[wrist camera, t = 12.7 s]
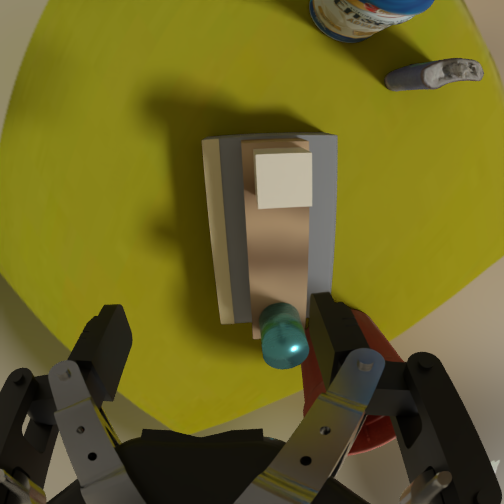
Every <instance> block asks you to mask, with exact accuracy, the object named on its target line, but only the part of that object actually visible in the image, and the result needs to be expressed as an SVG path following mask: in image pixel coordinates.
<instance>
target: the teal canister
mask: <svg viewBox="0 0 504 504" xmlns="http://www.w3.org/2000/svg"><path fill="white" fill-rule="evenodd" d="M259 326H260V335H261V343H262V351H263V358H264V360H265V362H266V363H267V364H268V365H269V366H271V367H273V368H277V369H289V368H293V367H295V366H297V365H299V364H301V363H302V362H303V361H304V360H305V359H306V358H307V356H308V354H309V346H308V342H307V339H306V336H305V332H304V329H303V326H302V322H301V319H300V316H299V313H298V311H297V309H296V308H295V307H294V306H292V305H291V304H288V303H274V304H271V305H269V306H268V307H266V308H265V309H264V310H263V311H262V312H261V314H260V317H259Z"/></svg>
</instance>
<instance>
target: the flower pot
mask: <svg viewBox="0 0 504 504" xmlns="http://www.w3.org/2000/svg"><path fill="white" fill-rule="evenodd" d="M351 311H352V313H353V314H354V316H355V319H356V320H357V322H358V325H359V326H360V328H361V330H362V332H363V334H364V336H365V338H366V340H367V343H368V345H369V347H370V349H372V350H375V351H377V352H378V353H380V354H381V355H382V356H383V358H384V360H387V361H392V362H404V361H403V360H402V359H401V358H400V356H399V355H398V354H397V352H396V351H395V350H394V348H393V347H392V346H391V345H390V343H389V342H388V340H387V339H386V338H385V336H384V335H383V334H382V333H381V331H380V330H379V329H378V327H377V326H376V325H375V323H374V322H373V321H372V320H371V318H370V317H369V316H368V315H366V314H365V313H363V312H360V311H358V310H353V309H351ZM305 336H306V339H307V342H308V346H309V354H308V356H307V358H306V359H305V360H304V361H303V362H302V363H301V369H302V378H303V388H304V398H305V404H304V409H303V415H304V417H305V415H306V414H307V412H308V411H309V410H310V408H311V407H312V405H313V403H314V402H315V400H316V399H317V397H318V396H319V395H320V394H321V393H322V392H323V393H326V389H325V385H324V382H323V378H322V375H321V371H320V368H319V364H318V361H317V358H316V354H315V351H314V347H313V344H312V341H311V337H310V332H309V327H308V328H307V329H306V330H305ZM395 438H396V435H395V431H394V428H393V425H392V422H391V419H390V416H380V415H367V417H366V419H365V421H364V423H363V425H362V427H361V429H360V431H359V433H358V435H357V437H356V439H355V441H354V443H353V445H352V447H351V449H350V451H349V453H348V455H347V456H349V455H355V454H359V453H363V452H367V451H370V450H373V449H375V448H378V447H380V446H382V445H384V444H386V443H388V442H390V441H392V440H394V439H395Z"/></svg>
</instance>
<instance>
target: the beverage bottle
mask: <svg viewBox="0 0 504 504" xmlns="http://www.w3.org/2000/svg"><path fill="white" fill-rule="evenodd" d="M433 2H434V0H310V4H309V9H310V14H311V17H312V19H313V21H314V23H315V24H316V26H317V27H318V28H319V29H320V30H321V31H322V32H323V33H325V34H326V35H327V36H329V37H331V38H333V39H335V40H338V41H341V42H347V43H355V42H360V41H363V40H365V39H367V38H369V37H371V36H372V35H373V34H375V33H376V32H378V31H381V30H383V29H385V28H387V27H389V26H391V25H395V24H400V23H403V22H406V21H408V20H409V19H411V18H412V17H414V16H415V15H417V14H420V13H422V12H424V11H426V10H427V9H428V8H429V7H430V6H431V5H432V3H433Z"/></svg>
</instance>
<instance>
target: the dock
mask: <svg viewBox="0 0 504 504" xmlns="http://www.w3.org/2000/svg"><path fill="white" fill-rule="evenodd" d="M275 138H302V139H304V140H307V141H309V151H310V152H311V153H312V206H309V254H308V283H307V305H306V318H309V312H310V296H311V293H318V292H328V291H329V292H330V294H331V284H332V272H333V258H334V243H335V224H336V199H337V135H333V134H329V133H324V132H290V133H257V134H238V135H224V136H211V137H206V138H204V139H203V140H202V150H203V162H204V174H205V185H206V196H207V207H208V217H209V227H210V236H211V245H212V254H213V263H214V272H215V280H216V289H217V297H218V305H219V312H220V320H221V324H234V323H246V322H252V314H251V298H250V281H249V265H248V249H247V233H246V216H245V199H244V182H243V165H242V148H241V140H251V139H275Z"/></svg>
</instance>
